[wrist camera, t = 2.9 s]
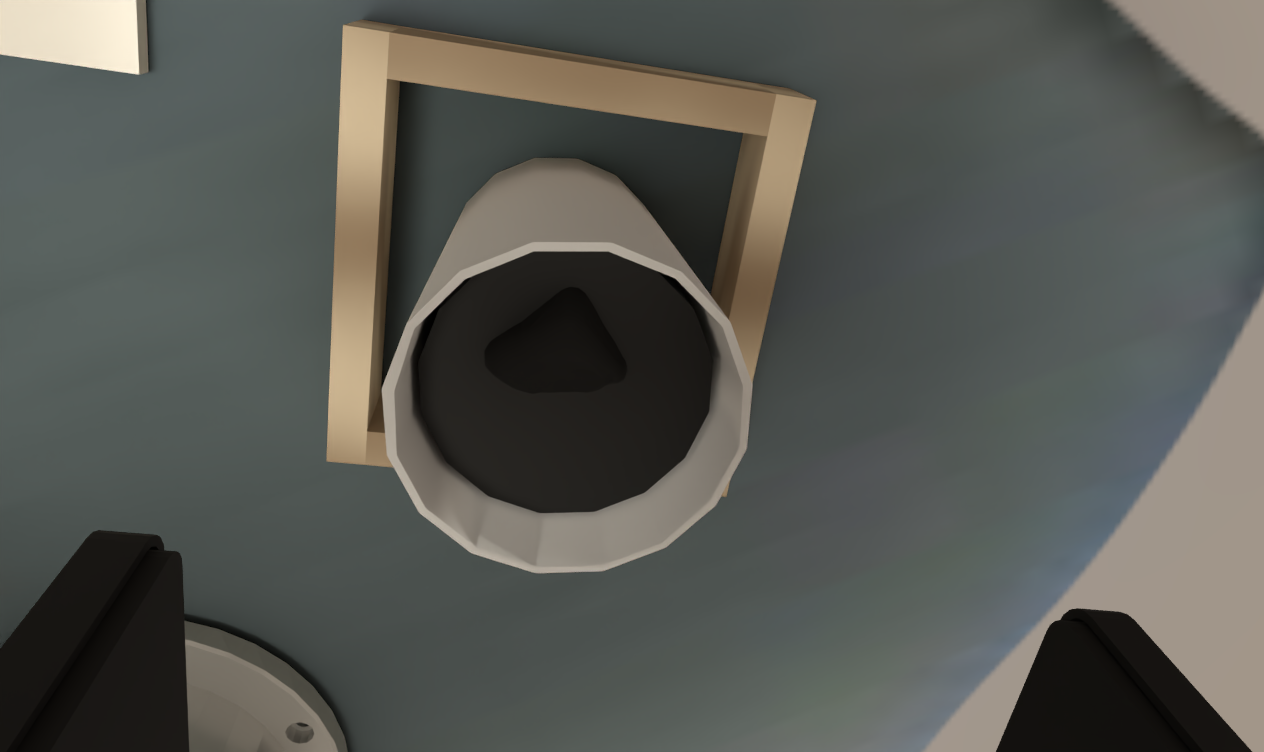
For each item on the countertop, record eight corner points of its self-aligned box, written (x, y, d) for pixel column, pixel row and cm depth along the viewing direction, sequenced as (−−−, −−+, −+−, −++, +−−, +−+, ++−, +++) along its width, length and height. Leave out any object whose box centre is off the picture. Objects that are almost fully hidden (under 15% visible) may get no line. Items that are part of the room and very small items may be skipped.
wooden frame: (710, 455, 29) (726, 496, 26) (343, 420, 27) (326, 461, 25) (789, 88, 25) (816, 100, 22) (361, 19, 23) (342, 25, 21)
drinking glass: (383, 227, 25) (298, 374, 16) (591, 88, 24) (630, 160, 15) (524, 412, 27) (522, 630, 18) (717, 293, 27) (815, 460, 17)
